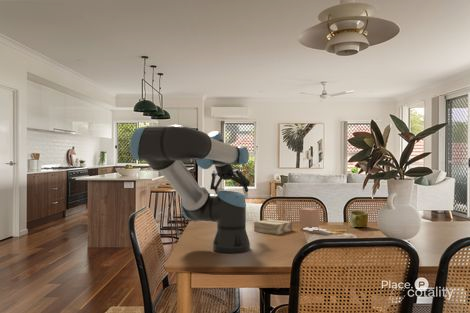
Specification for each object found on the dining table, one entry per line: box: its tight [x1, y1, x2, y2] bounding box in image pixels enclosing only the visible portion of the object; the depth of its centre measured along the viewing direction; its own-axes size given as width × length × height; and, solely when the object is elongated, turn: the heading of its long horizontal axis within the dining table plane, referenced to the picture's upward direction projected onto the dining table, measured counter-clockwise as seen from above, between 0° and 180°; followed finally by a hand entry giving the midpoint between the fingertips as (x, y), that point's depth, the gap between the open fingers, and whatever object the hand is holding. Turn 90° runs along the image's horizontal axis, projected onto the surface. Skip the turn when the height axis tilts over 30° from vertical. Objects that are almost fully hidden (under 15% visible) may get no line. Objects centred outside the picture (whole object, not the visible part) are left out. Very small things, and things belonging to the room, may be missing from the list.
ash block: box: [253, 218, 293, 235], centre depth 182 cm, size 14×14×5 cm
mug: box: [349, 210, 369, 228], centre depth 192 cm, size 12×10×10 cm
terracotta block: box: [299, 207, 320, 231], centre depth 184 cm, size 7×7×11 cm
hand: (234, 198), depth 176 cm, fingers open, 13 cm apart
